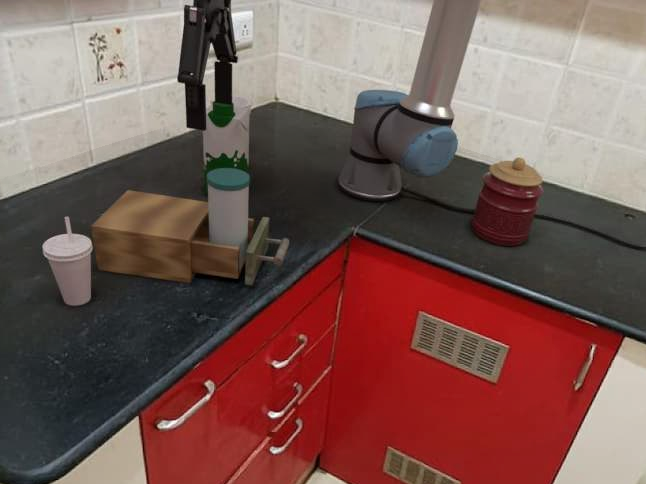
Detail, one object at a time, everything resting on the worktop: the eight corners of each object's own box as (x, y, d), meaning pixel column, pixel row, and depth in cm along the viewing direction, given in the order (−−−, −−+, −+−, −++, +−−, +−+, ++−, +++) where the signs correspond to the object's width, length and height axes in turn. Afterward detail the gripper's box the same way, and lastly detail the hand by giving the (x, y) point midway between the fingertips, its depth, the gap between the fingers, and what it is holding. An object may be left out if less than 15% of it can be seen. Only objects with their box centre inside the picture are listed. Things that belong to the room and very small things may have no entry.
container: (252, 248, 100) (254, 171, 92) (243, 268, 95) (244, 187, 86) (215, 243, 100) (213, 165, 92) (203, 262, 94) (201, 181, 86)
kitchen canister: (479, 213, 132) (499, 141, 122) (532, 230, 128) (557, 158, 118) (462, 234, 121) (482, 157, 112) (519, 253, 118) (545, 176, 108)
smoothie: (98, 309, 84) (84, 228, 76) (50, 312, 82) (31, 229, 74) (102, 285, 89) (90, 206, 81) (57, 287, 87) (40, 206, 79)
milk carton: (200, 196, 119) (196, 102, 108) (214, 179, 126) (212, 90, 115) (240, 203, 118) (241, 110, 107) (252, 186, 126) (254, 97, 115)
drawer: (291, 251, 104) (293, 221, 100) (278, 289, 93) (279, 257, 89) (192, 236, 103) (190, 205, 99) (167, 273, 92) (165, 239, 89)
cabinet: (214, 242, 104) (213, 202, 99) (190, 283, 92) (188, 240, 88) (132, 230, 103) (127, 189, 99) (97, 269, 92) (90, 225, 87)
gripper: (209, -48, 86) (211, 90, 98) (143, -37, 66) (156, 136, 77) (257, -39, 87) (254, 97, 98) (206, -26, 66) (209, 145, 77)
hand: (210, 115), depth 88 cm, fingers open, 13 cm apart
